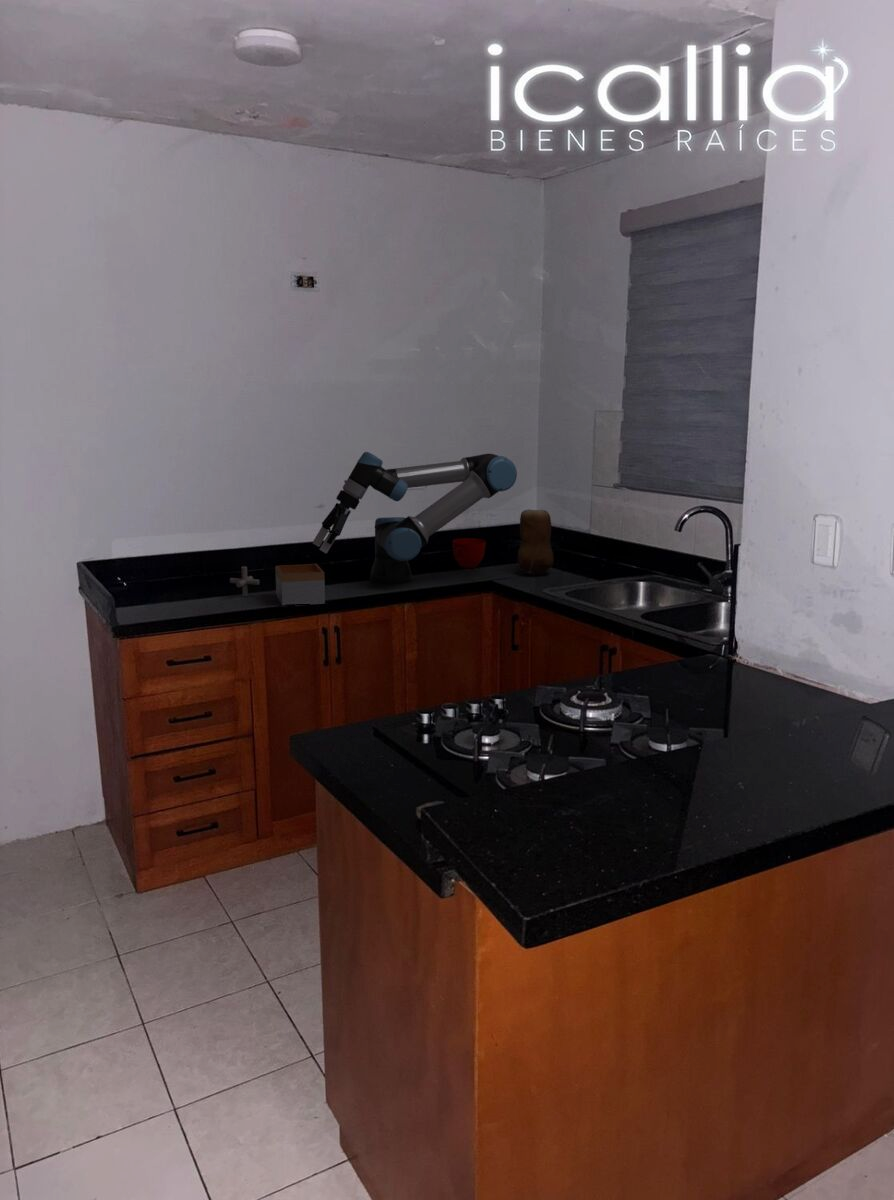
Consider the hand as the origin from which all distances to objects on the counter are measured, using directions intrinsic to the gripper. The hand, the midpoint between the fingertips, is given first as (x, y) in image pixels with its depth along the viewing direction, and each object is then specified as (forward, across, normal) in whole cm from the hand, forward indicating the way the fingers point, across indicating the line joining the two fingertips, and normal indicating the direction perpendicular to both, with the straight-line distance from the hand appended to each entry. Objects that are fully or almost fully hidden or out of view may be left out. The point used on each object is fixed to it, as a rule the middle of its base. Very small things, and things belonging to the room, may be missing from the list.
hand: (319, 548), depth 320 cm
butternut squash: (-32, -9, +79) cm, 86 cm away
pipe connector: (+27, -2, -13) cm, 30 cm away
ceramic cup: (-21, -28, +61) cm, 71 cm away
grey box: (+18, +8, +2) cm, 19 cm away
